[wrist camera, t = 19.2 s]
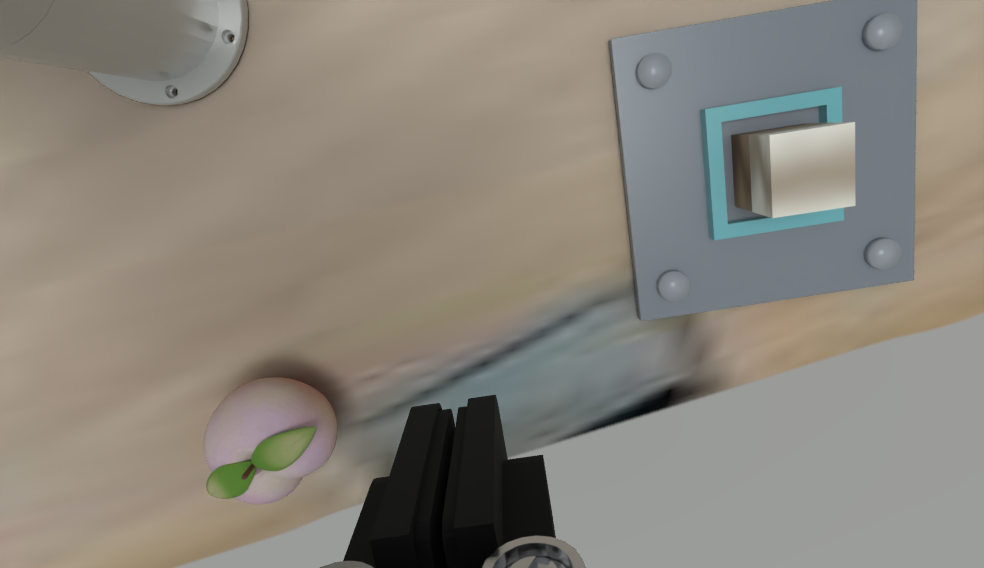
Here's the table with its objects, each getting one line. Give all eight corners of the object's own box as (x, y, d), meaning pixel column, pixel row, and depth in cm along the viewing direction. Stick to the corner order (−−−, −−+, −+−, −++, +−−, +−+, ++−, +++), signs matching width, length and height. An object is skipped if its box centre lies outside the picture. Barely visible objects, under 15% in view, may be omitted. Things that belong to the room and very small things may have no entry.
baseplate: (608, 41, 40) (614, 36, 39) (907, -11, 39) (928, -19, 38) (638, 317, 45) (644, 325, 43) (904, 276, 44) (923, 283, 42)
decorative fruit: (294, 331, 46) (240, 384, 36) (370, 403, 47) (336, 473, 38) (215, 406, 48) (143, 476, 38) (290, 473, 49) (239, 557, 39)
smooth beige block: (730, 135, 41) (769, 135, 35) (804, 123, 41) (855, 121, 35) (734, 206, 42) (772, 218, 36) (805, 195, 42) (855, 205, 36)
